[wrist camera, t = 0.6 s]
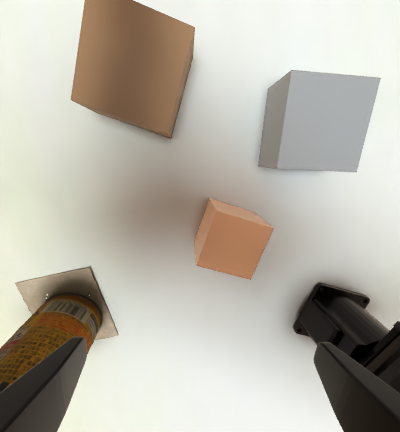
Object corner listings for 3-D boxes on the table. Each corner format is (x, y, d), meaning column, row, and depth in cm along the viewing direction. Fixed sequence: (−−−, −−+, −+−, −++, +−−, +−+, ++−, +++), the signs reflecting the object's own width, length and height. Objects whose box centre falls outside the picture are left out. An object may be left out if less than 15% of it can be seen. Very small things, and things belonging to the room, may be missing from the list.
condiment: (52, 348, 22) (-92, 556, 11) (16, 282, 20) (-222, 460, 8) (118, 333, 22) (47, 524, 11) (91, 265, 20) (-42, 419, 8)
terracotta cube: (254, 212, 19) (273, 228, 15) (236, 253, 20) (250, 279, 16) (209, 197, 19) (216, 210, 14) (194, 241, 20) (196, 265, 15)
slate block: (336, 95, 17) (380, 77, 13) (321, 168, 19) (356, 172, 15) (267, 89, 17) (291, 70, 13) (257, 165, 18) (277, 168, 14)
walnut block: (192, 58, 16) (194, 27, 12) (171, 138, 17) (167, 133, 13) (113, 26, 15) (87, -20, 11) (98, 113, 16) (70, 100, 12)
